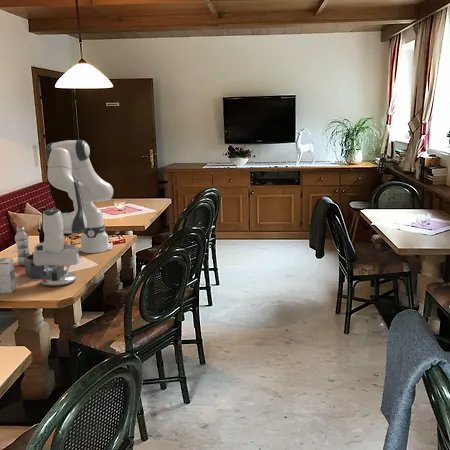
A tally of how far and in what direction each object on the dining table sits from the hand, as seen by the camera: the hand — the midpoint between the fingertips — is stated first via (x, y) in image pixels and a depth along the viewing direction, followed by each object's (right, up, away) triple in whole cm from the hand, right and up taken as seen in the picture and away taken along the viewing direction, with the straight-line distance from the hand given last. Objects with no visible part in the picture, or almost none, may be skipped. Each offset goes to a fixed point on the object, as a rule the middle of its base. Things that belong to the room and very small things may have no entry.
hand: (58, 274), depth 234 cm
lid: (0, -4, +1) cm, 4 cm away
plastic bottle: (-27, +2, +29) cm, 40 cm away
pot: (-12, -1, +14) cm, 18 cm away
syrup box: (-19, -7, -10) cm, 22 cm away
